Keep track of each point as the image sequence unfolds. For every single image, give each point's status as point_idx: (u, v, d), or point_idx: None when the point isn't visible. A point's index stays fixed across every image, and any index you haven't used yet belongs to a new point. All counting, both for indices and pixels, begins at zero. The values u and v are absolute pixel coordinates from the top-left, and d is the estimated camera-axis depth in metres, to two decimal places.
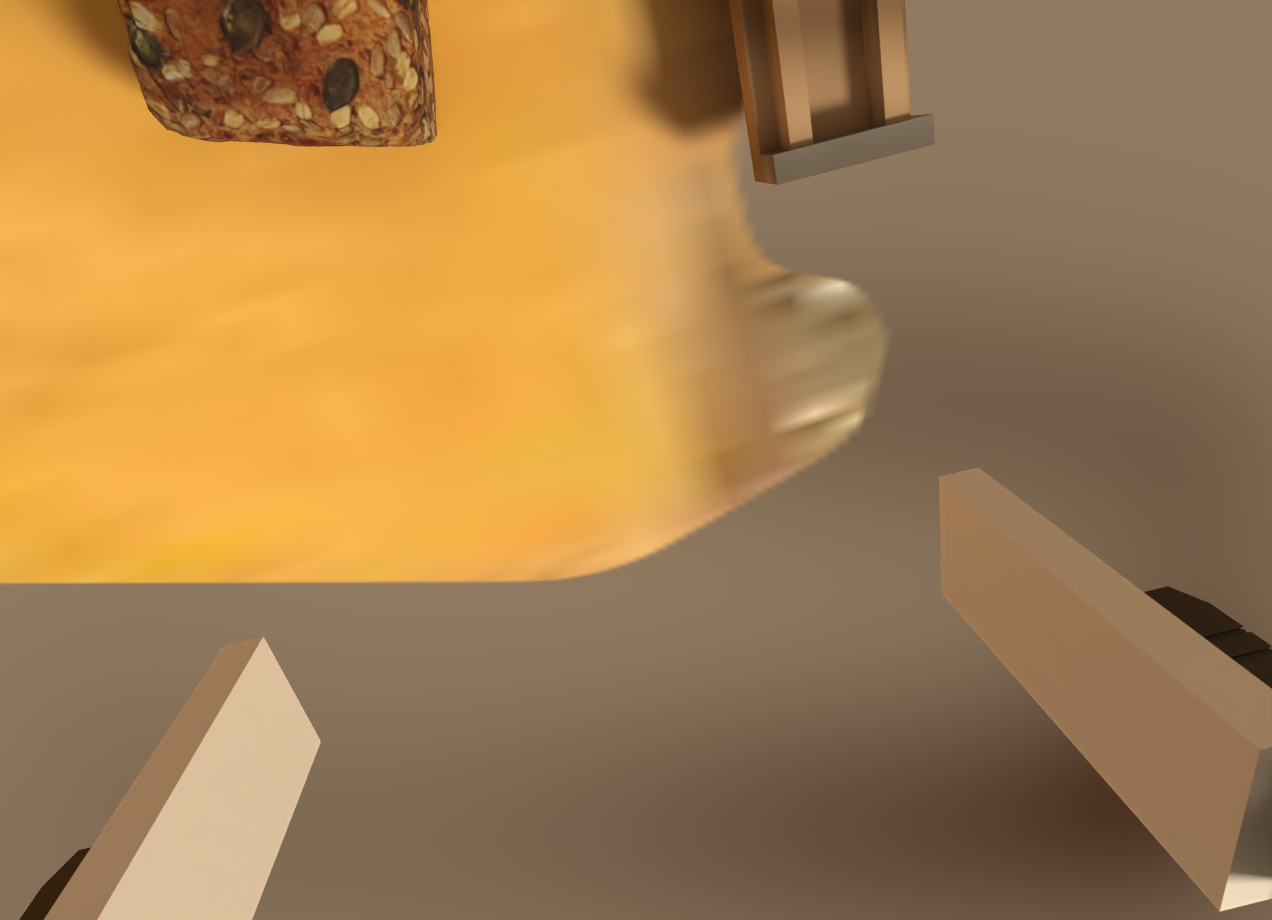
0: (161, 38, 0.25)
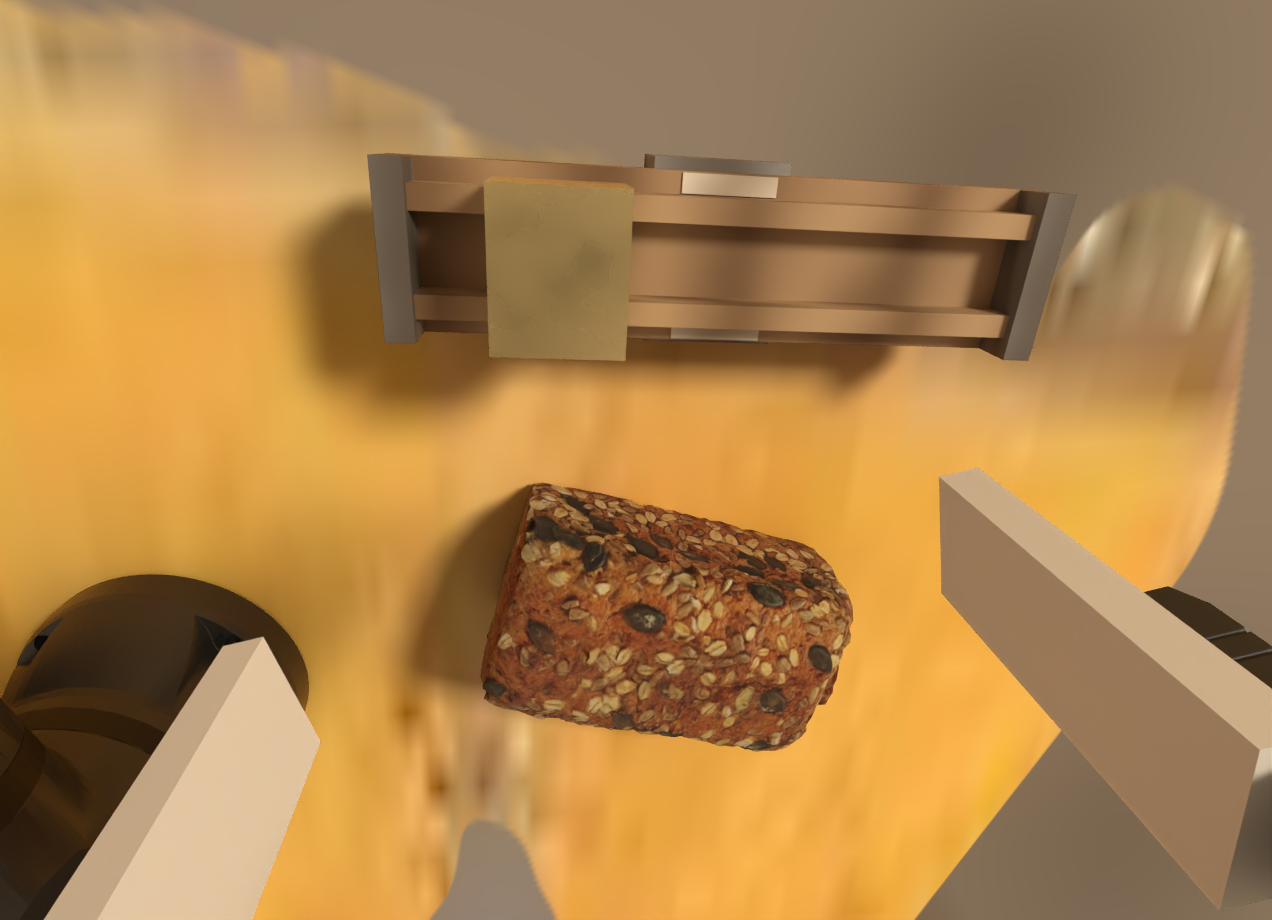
0: (756, 738, 0.38)
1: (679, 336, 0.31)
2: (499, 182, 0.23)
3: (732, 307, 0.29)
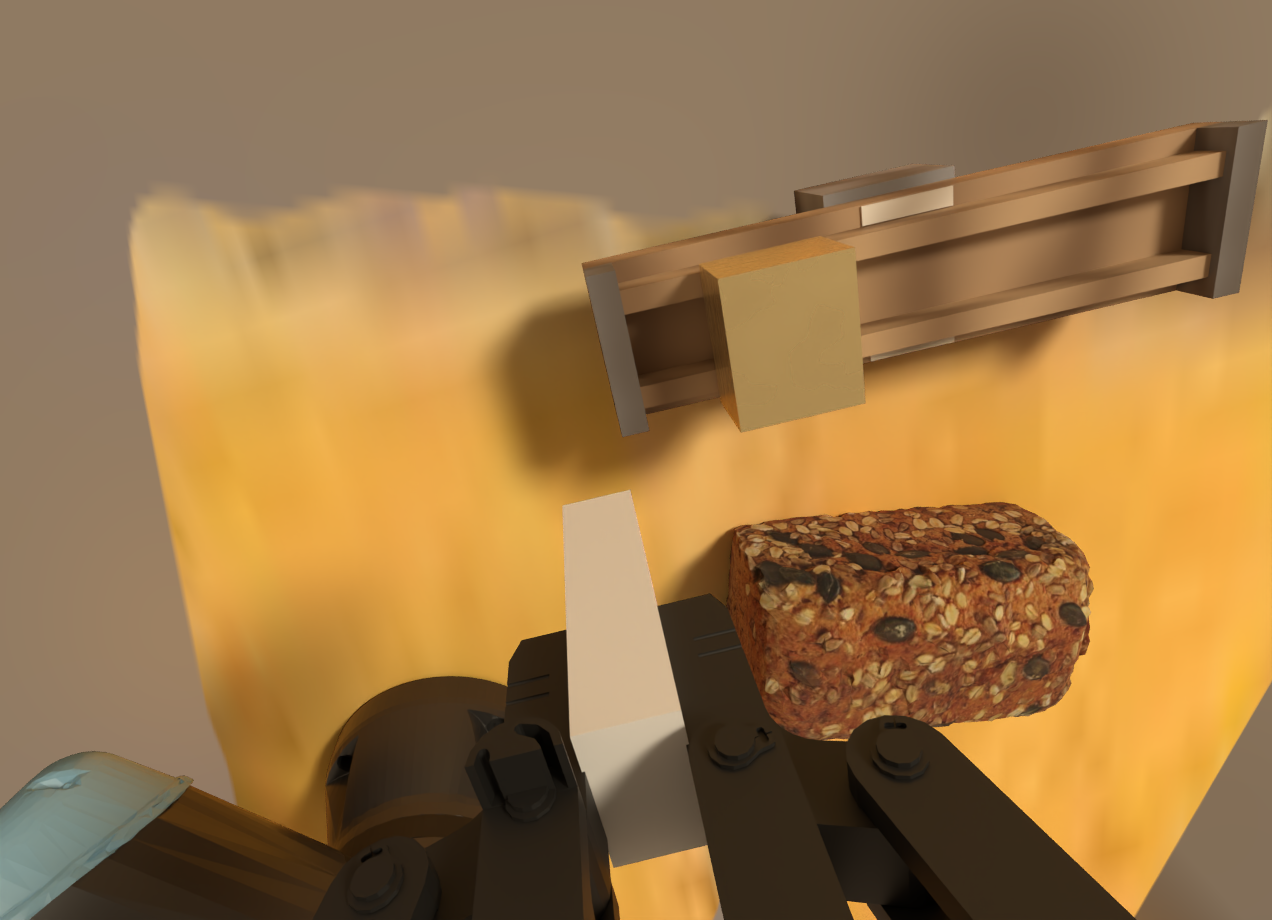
0: (1027, 705, 0.39)
1: (879, 357, 0.32)
2: (731, 276, 0.25)
3: (934, 320, 0.30)
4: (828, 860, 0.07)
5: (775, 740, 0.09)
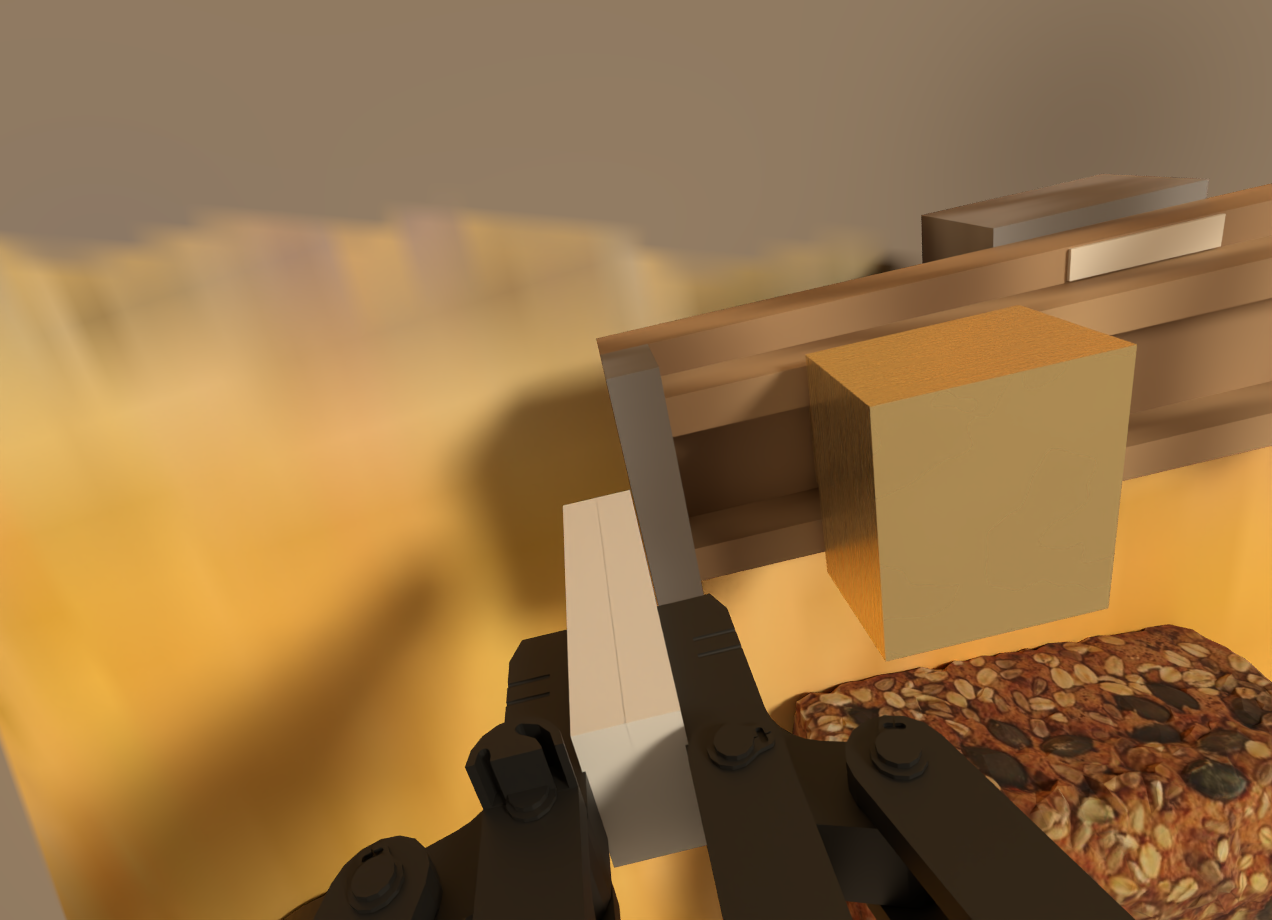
0: None
1: None
2: (896, 401, 0.13)
3: (1183, 436, 0.18)
4: (827, 860, 0.07)
5: (774, 740, 0.09)
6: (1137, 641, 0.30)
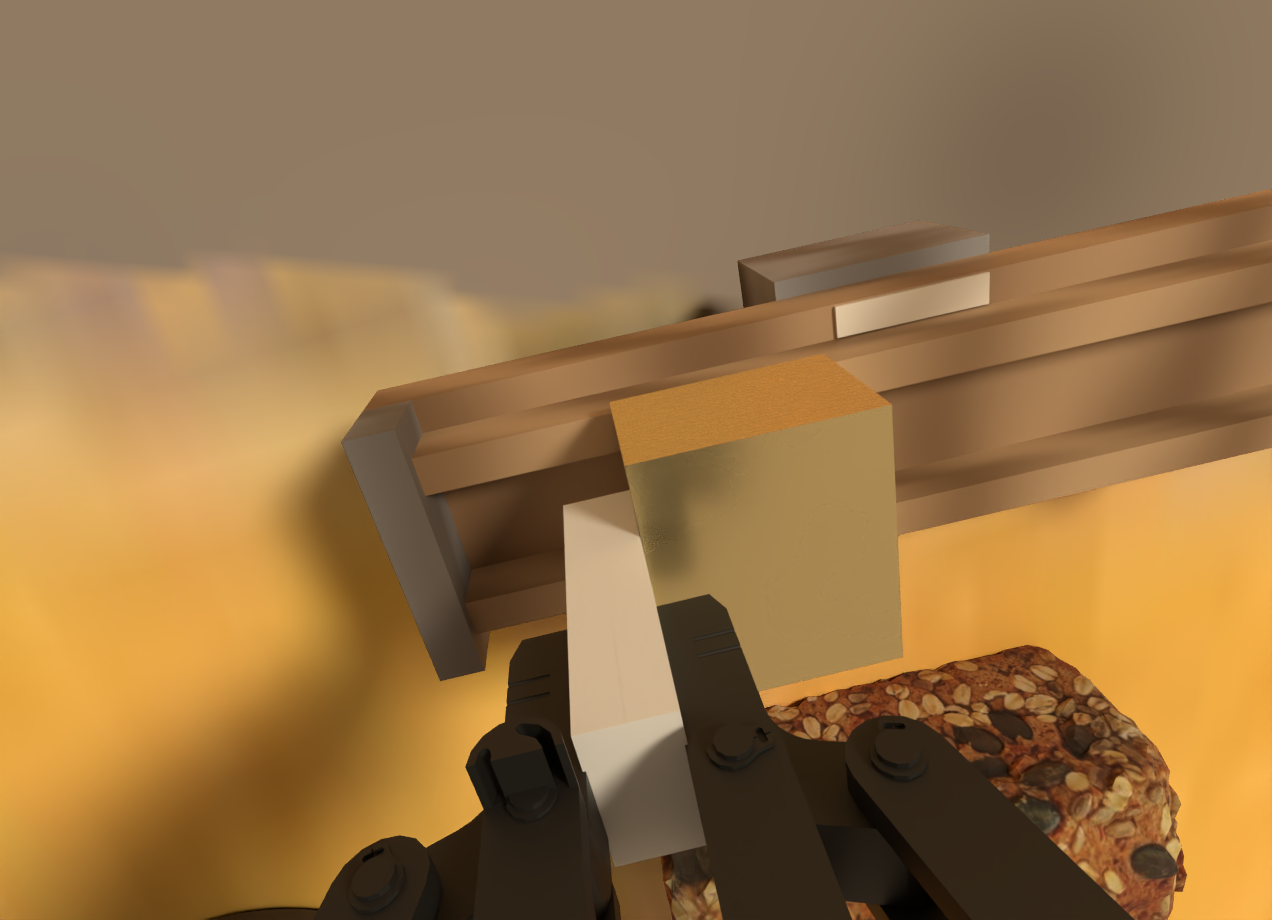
0: None
1: None
2: (652, 459, 0.13)
3: (957, 491, 0.18)
4: (827, 860, 0.07)
5: (774, 740, 0.09)
6: (990, 666, 0.30)
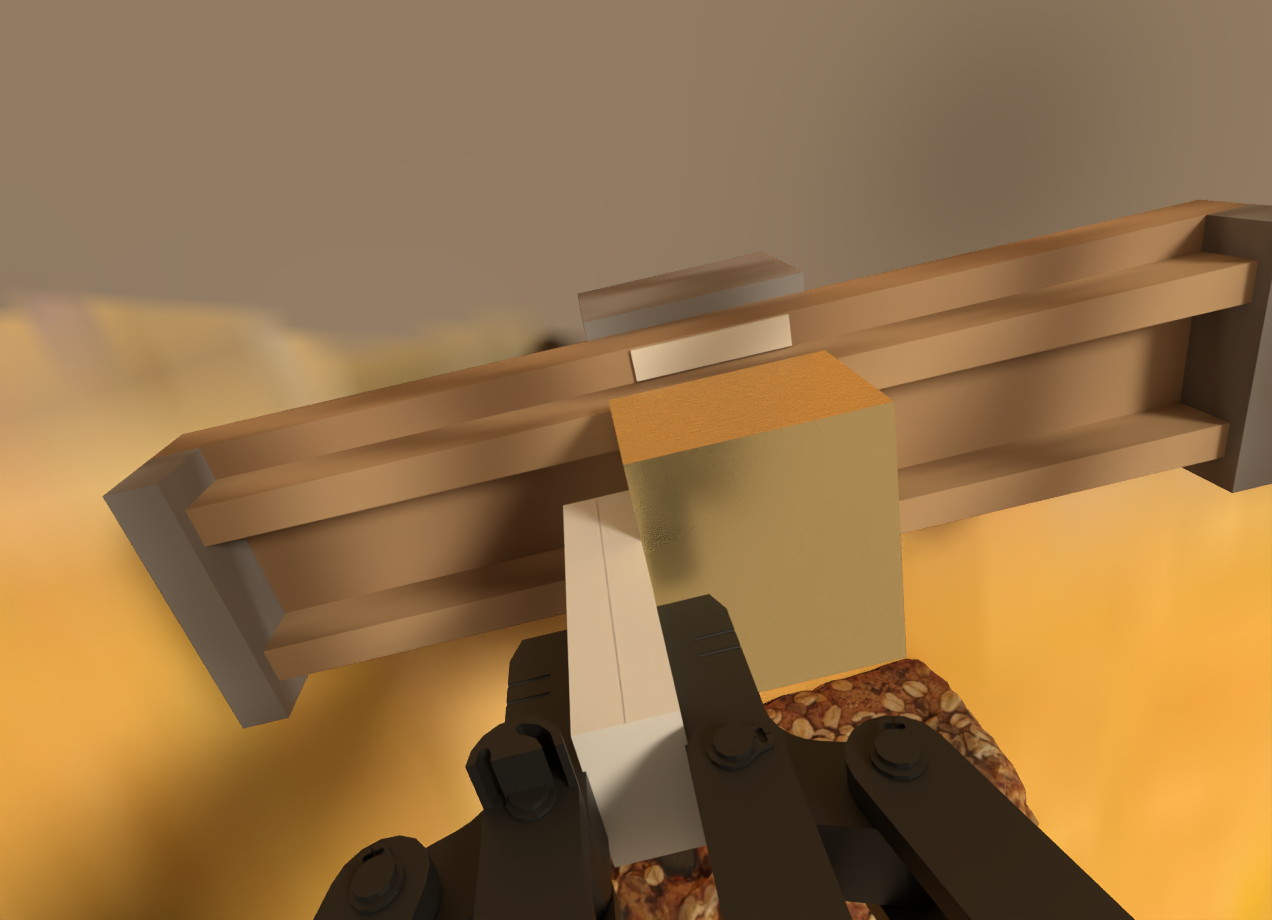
0: None
1: None
2: (651, 458, 0.13)
3: None
4: (827, 860, 0.07)
5: (774, 740, 0.09)
6: (865, 684, 0.29)
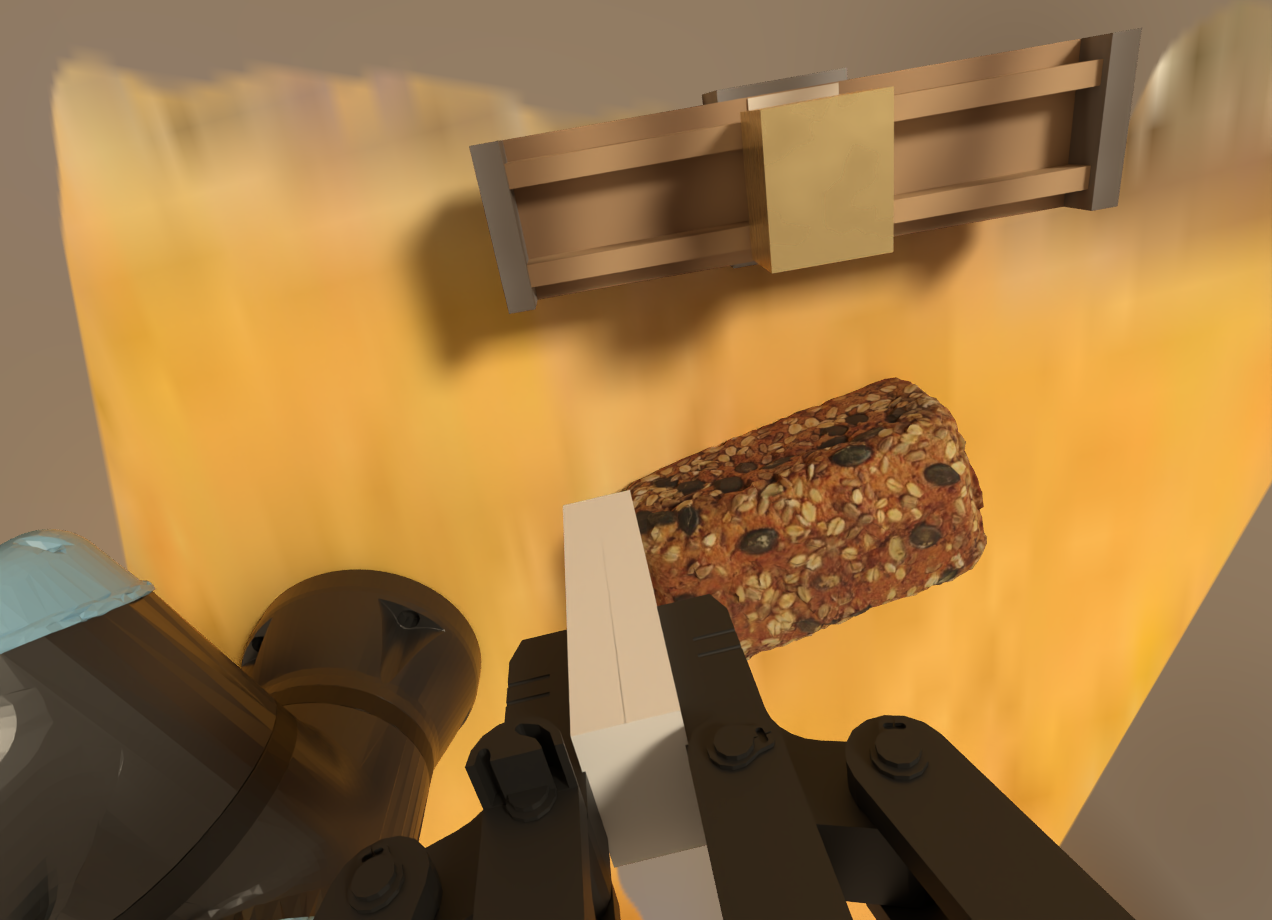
0: (940, 571, 0.38)
1: None
2: (773, 108, 0.26)
3: None
4: (827, 860, 0.07)
5: (774, 740, 0.09)
6: (854, 394, 0.42)
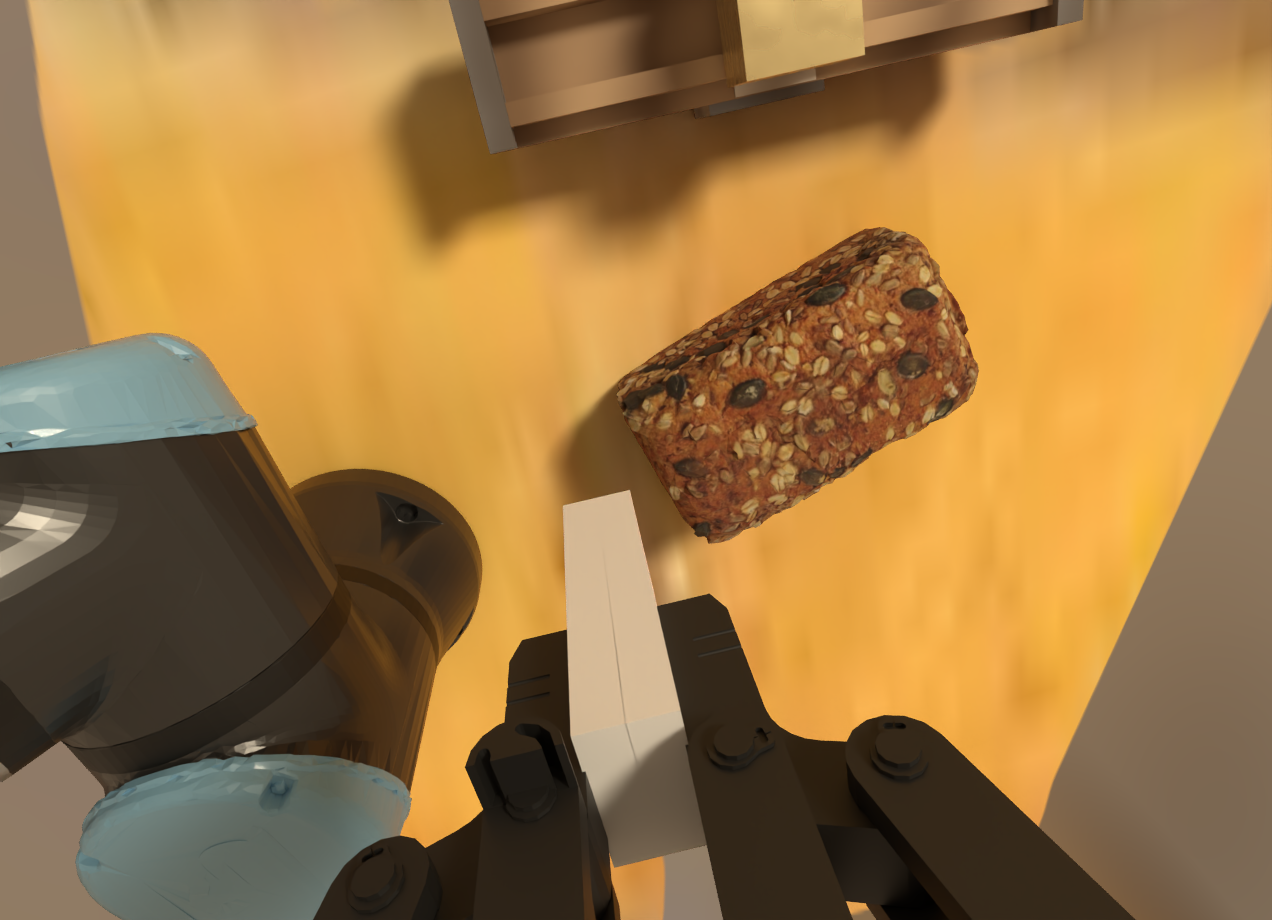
0: (935, 403, 0.38)
1: (743, 93, 0.34)
2: None
3: None
4: (827, 860, 0.07)
5: (774, 740, 0.09)
6: (827, 252, 0.42)
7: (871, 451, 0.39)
